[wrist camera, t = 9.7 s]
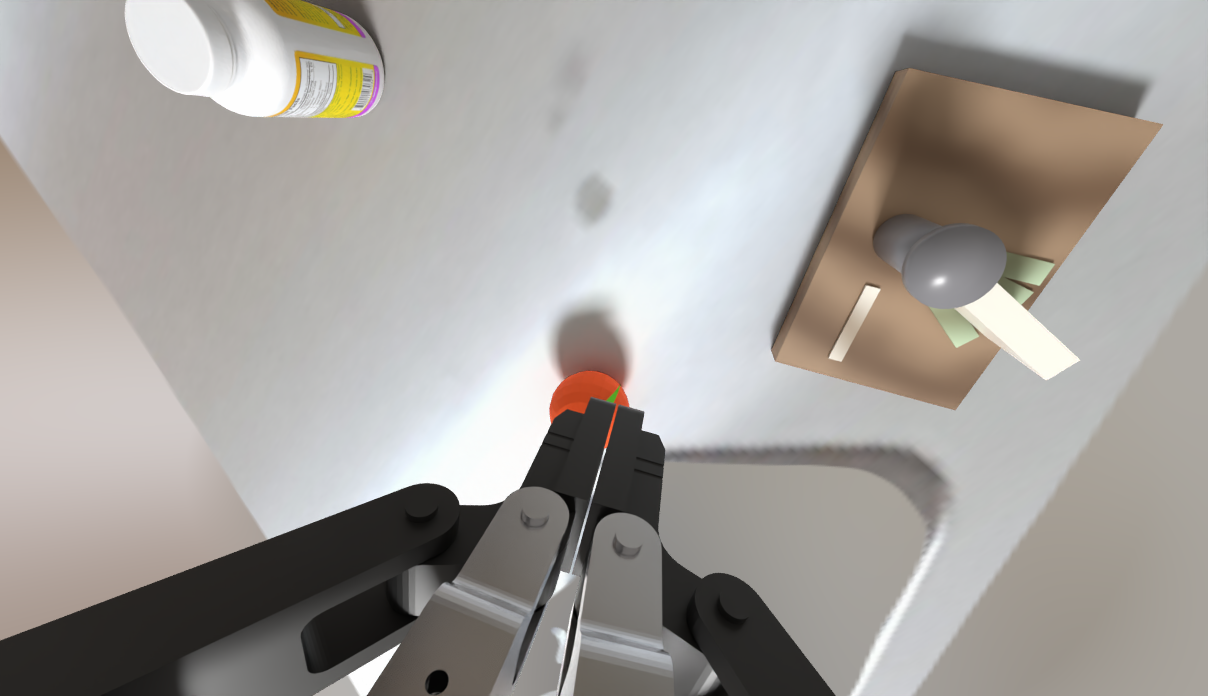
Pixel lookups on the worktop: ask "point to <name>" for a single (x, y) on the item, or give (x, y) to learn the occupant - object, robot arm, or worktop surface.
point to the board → (946, 196)
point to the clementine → (586, 394)
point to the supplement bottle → (259, 55)
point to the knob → (968, 285)
